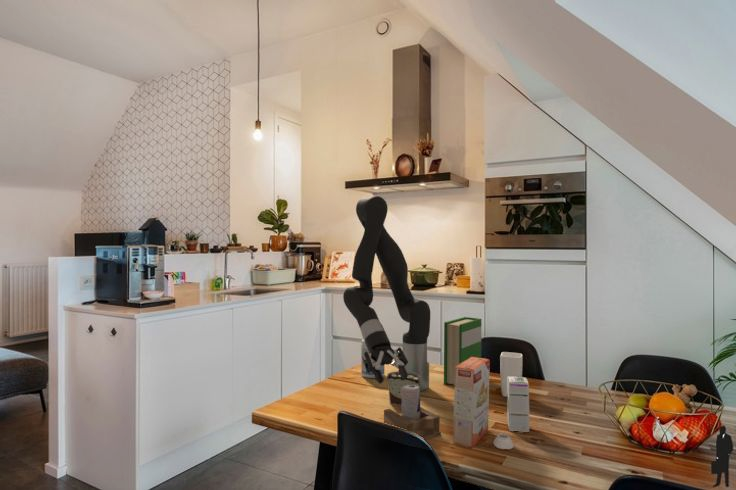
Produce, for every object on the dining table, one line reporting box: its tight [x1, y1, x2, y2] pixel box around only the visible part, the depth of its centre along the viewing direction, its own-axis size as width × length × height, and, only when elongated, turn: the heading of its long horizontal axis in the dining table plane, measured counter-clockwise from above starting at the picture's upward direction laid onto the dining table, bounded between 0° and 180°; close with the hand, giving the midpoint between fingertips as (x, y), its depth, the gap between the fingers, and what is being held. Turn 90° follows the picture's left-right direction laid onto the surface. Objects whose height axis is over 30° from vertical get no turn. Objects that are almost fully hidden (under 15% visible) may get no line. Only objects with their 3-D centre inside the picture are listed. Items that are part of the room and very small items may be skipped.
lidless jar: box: [493, 432, 514, 450], centre depth 119 cm, size 5×3×5 cm
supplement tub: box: [360, 338, 385, 379], centre depth 183 cm, size 10×10×15 cm
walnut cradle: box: [383, 406, 442, 440], centre depth 128 cm, size 12×12×5 cm
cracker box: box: [452, 357, 491, 448], centre depth 124 cm, size 14×6×21 cm, turn 148°
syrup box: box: [506, 376, 530, 433], centre depth 131 cm, size 6×6×14 cm
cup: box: [499, 351, 524, 398], centre depth 159 cm, size 7×7×15 cm
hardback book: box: [443, 316, 482, 386], centre depth 176 cm, size 18×7×24 cm, turn 142°
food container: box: [385, 371, 422, 407], centre depth 151 cm, size 12×6×10 cm, turn 65°
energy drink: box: [400, 384, 421, 420], centre depth 128 cm, size 5×5×12 cm
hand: (393, 380), depth 136 cm, fingers open, 8 cm apart
